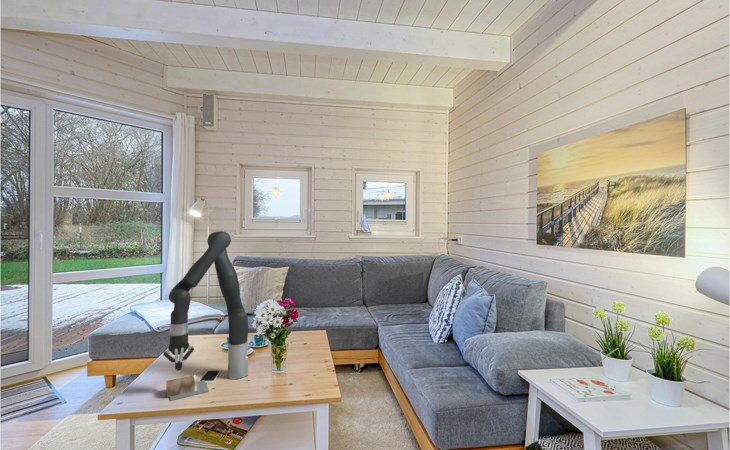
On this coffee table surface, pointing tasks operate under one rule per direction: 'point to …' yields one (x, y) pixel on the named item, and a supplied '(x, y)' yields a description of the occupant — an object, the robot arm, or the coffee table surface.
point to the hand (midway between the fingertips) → (178, 369)
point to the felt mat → (200, 389)
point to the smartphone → (211, 376)
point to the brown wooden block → (181, 385)
